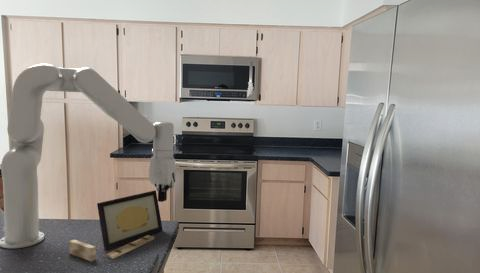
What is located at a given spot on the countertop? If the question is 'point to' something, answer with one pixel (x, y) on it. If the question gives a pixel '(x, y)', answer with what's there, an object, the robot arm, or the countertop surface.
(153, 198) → the picture frame
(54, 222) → the countertop surface
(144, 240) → the strip
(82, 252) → the block
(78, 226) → the countertop surface
